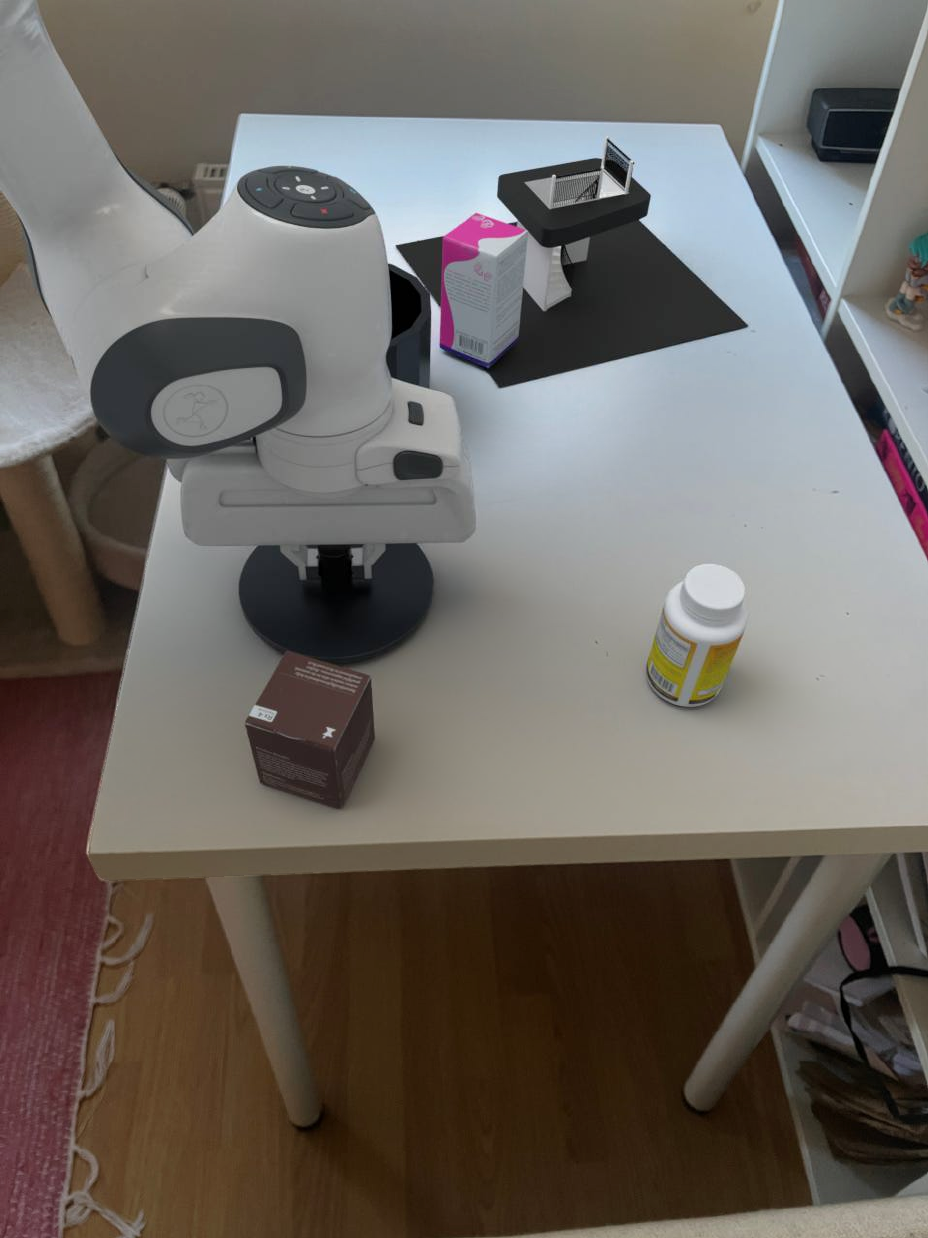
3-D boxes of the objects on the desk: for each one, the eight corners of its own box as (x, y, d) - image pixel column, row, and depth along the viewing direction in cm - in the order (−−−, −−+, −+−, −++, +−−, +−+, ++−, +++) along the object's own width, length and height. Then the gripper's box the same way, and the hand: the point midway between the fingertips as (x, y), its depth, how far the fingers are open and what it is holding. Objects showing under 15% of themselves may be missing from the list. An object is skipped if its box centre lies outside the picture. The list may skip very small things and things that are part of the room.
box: (377, 739, 68) (374, 674, 63) (341, 813, 65) (335, 752, 59) (295, 712, 69) (285, 647, 64) (256, 784, 66) (241, 721, 60)
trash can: (271, 467, 85) (255, 352, 76) (280, 369, 94) (266, 256, 85) (431, 465, 86) (434, 352, 77) (425, 368, 95) (427, 257, 86)
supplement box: (520, 339, 98) (531, 229, 89) (488, 369, 94) (496, 258, 85) (470, 319, 99) (476, 209, 91) (436, 348, 96) (439, 236, 87)
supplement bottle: (725, 660, 74) (763, 566, 66) (715, 719, 71) (753, 627, 63) (651, 640, 75) (679, 545, 67) (637, 698, 71) (665, 605, 64)
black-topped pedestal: (499, 388, 93) (510, 257, 83) (395, 246, 108) (393, 120, 98) (748, 326, 102) (786, 200, 91) (619, 202, 116) (640, 81, 106)
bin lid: (232, 671, 71) (222, 624, 67) (248, 525, 81) (239, 476, 77) (437, 666, 72) (439, 620, 68) (429, 523, 82) (430, 475, 78)
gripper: (152, 462, 62) (190, 608, 72) (484, 459, 63) (473, 602, 74) (165, 397, 66) (199, 544, 76) (477, 396, 67) (467, 540, 78)
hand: (336, 573), depth 75 cm, fingers closed on bin lid, 2 cm apart
